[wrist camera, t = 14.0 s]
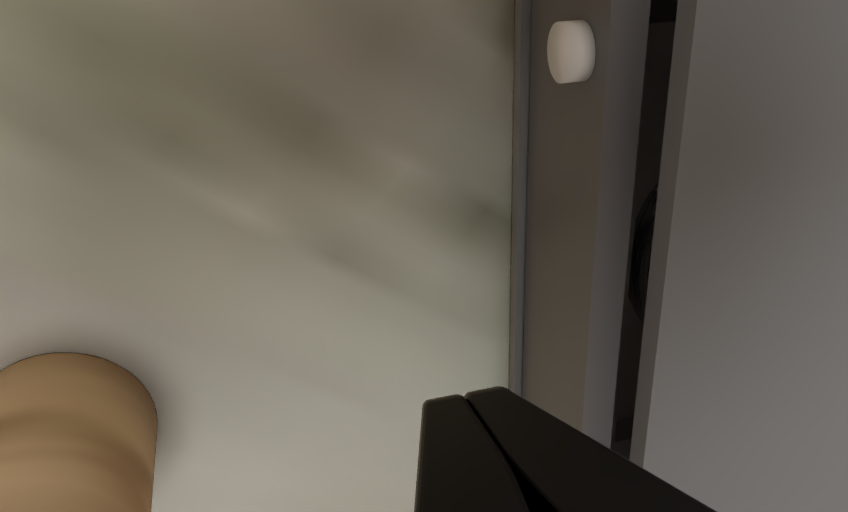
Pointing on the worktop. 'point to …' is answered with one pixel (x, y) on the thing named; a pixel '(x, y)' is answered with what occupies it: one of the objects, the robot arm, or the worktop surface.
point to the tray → (590, 203)
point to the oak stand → (75, 436)
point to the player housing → (738, 257)
